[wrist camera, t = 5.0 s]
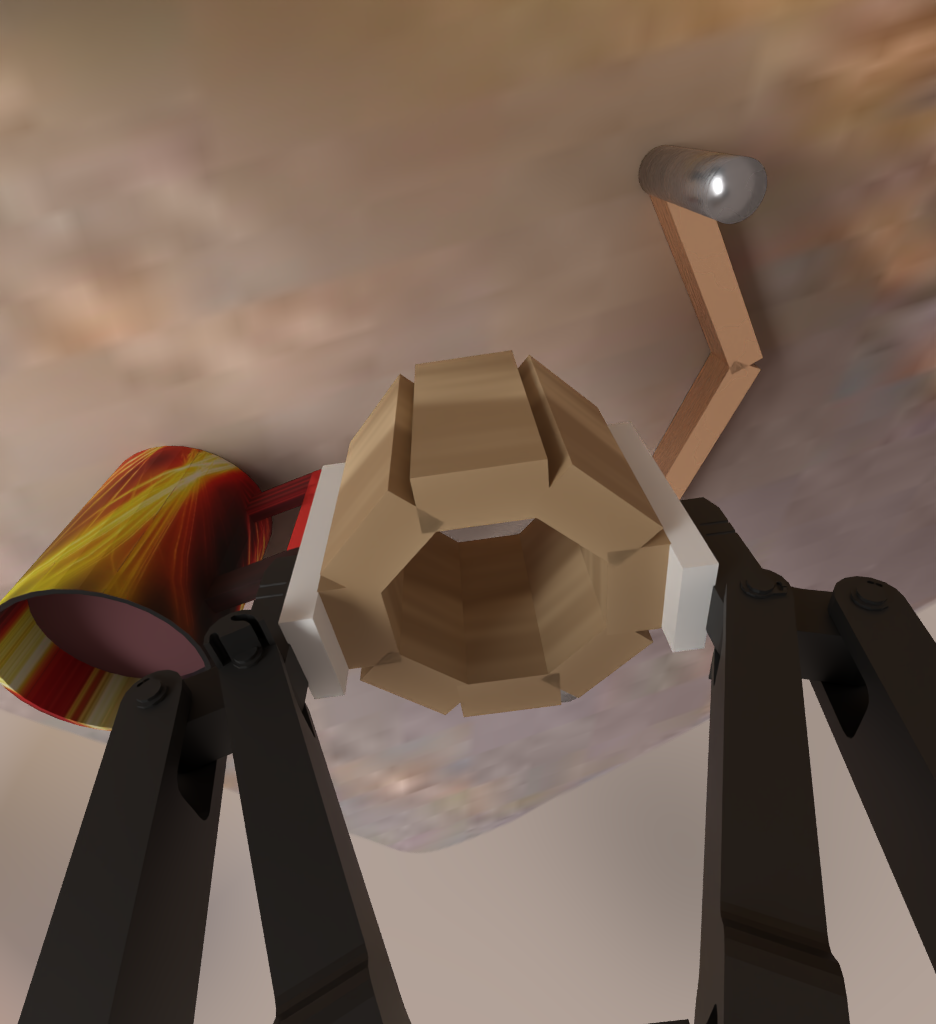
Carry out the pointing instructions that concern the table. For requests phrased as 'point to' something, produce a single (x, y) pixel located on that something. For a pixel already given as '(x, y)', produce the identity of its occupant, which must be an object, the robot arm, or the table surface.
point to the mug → (141, 581)
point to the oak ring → (490, 542)
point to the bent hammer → (705, 290)
